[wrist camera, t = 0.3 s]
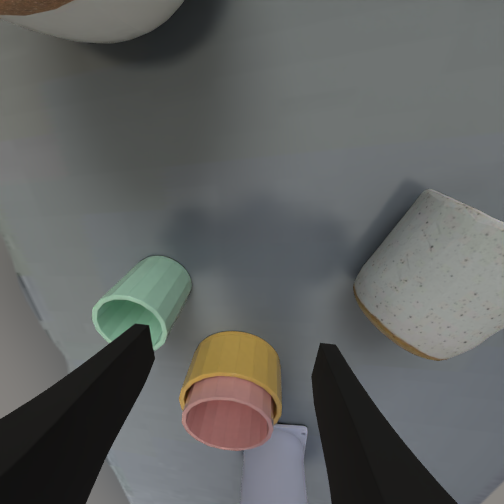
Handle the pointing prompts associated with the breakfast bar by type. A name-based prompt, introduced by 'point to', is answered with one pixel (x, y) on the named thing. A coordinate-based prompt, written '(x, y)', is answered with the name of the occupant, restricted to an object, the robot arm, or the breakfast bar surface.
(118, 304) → the mint cup
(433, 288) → the ceramic mug
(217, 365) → the stack bottom
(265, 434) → the stack top
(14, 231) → the breakfast bar surface
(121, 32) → the lidded bowl
